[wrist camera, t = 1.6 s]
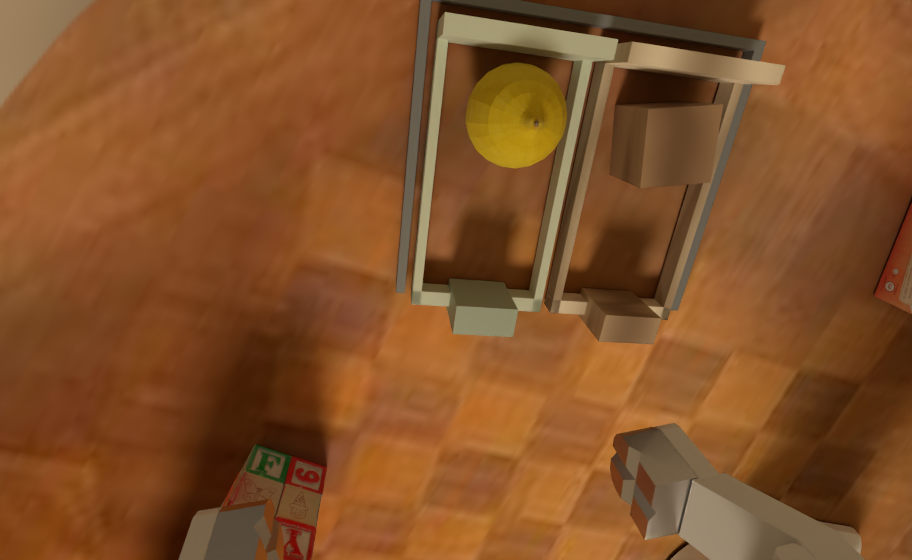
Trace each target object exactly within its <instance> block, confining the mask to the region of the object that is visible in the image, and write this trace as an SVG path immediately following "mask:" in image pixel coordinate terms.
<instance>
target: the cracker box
mask: <svg viewBox="0 0 912 560" xmlns="http://www.w3.org/2000/svg"><path fill="white" fill-rule="evenodd" d="M874 296H875V297H877V298H879V299H881V300H883V301H885V302H887V303H890V304H892V305H894V306H896V307H898V308H900V309H902V310H904V311H906V312H908V313H910V314H912V202H911V205H910V207H909V210H908V212H907V215H906V217H905V220H904V222H903V224H902V227H901V229H900V232H899V234H898V237H897V239H896V242H895V244H894V247H893V249H892V252H891V254H890V257H889V259H888V262H887V264H886V267H885V269H884V271H883V274H882V276H881V279H880V281H879V284H878V286H877V289H876V291H875V294H874Z"/></svg>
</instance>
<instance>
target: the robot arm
mask: <svg viewBox="0 0 912 560" xmlns="http://www.w3.org/2000/svg"><path fill="white" fill-rule="evenodd" d="M613 447H614V448H615V450H616V452H617V453H616V454H615V455H614V456H613V457H612V458H611V464H610V471H611V477H612V481H613V484H614V486H615V489H616V491H617V493H618V494H619V496H620V498H621V499H622V500H624V501H626V502H627V503H629V504H630V505H631V512H630V515H631V517H632V519H633V521H634V522H635V524H636V526H637V528H638V529H639V531H640V533H641V534H642V536H643V538H644V540H647V539H652V538H658V537H663V536H668V535H674V534H679V536H680V537H681V538H683V539H684V540H685V541H687V542H688V543H689V544H688V545H687V546H686V547H684V548H683V549H681V550H680V551H679V552H678V553H677V554H675V555H674V556H673V557H672V558H671V559H670V560H865V559H864V558H863V557H862V556H861V555H860V552H861V537H860V535H859V534H858V533H857V531H856V530H855V529H854V528H852V527H849V526H843V525H837V524H832V523H826V522H820V521H816V520H815V519H813V518H811V517H809V516H807V515H805V514H803V513H801V512H799V511H797V510H795V509H793V508H791V507H789V506H788V505H786V504H784V503H782V502H780V501H778V500H776V499H774V498H772V497H770V496H768V495H766V494H764V493H763V492H761V491H759V490H757V489H755V488H753V487H751V486H749V485H747V484H745V483H743V482H741V481H739V480H737V479H736V478H734V477H732V476H730V475H728V474H726V473H723V474H719V473H718V472H717V471H716V469H715V468H714V467H713V466H712V465H711V463H710V462H709V461H708V460H707V459H706V457H705V456H704V455H703V454H702V453H701V452H700V450H699V449H698V448H697V447H696V446H695V444H694V443H693V442H692V441H691V440H690V438H689V437H688V436H687V435H686V434H685V433H684V431H683V430H682V429H681V428H680V427H679V426H678V425H676V424H675V423H672V424H667V425H662V426H656V427H650V428H645V429H640V430H635V431H630V432H625V433H620V434H616V436H615V437H614V441H613ZM274 514H275V507H274V505H273V502H272V499H267V500H260V501H254V502H248V503H242V504H235V505H229V506H223V507H218V508H212V509H206V510H200V511H198V512H197V513H196V514H195V516H194V517H193V519H192V521H191V524H190V527H189V530H188V533H187V536H186V539H185V542H184V545H183V548H182V551H181V554H180V556H179V559H178V560H283V557H284V539H283V532H282V528H281V525H280V522H278V521H276V520H274Z"/></svg>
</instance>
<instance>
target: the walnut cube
mask: <svg viewBox="0 0 912 560" xmlns="http://www.w3.org/2000/svg"><path fill="white" fill-rule="evenodd" d="M722 109H723V104H713V103H701V102H689V101H670V102H654V103H637V104H621V105H615V112H614V125H613V138H612V152H611V165H610V175H612V176H614V177H616V178H619V179H621V180H623V181H625V182H628V183H630V184H632V185H634V186H636V187H639V188H649V187H662V186H674V185H687V184H699V183H711V178H712V171H713V165H714V159H715V153H716V146H717V140H718V134H719V128H720V121H721V115H722Z"/></svg>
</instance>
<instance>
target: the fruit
mask: <svg viewBox="0 0 912 560" xmlns="http://www.w3.org/2000/svg"><path fill="white" fill-rule="evenodd" d="M566 121H567V108H566V100H565V98H564V96H563V93H562V91H561V89H560V87H559V85H558V83H557V82H556V81H555V80H554V79H553V78H552V77H551V76H550V75H549V73H547V72H545V71H544V70H542V69H540V68H538V67H536V66H534V65H531V64H525V63H519V62H515V63H510V64H504V65H501V66H499V67H497V68H495V69H493V70H491V71H489V72H488V73H487V74H486V75H485V76H484V77H483V78H482V79H481V80H480V81H479V82H478V83H477V84H476V86H475V88H474V89H473V91H472V93H471V95H470V97H469V100H468V105H467V111H466V126H467V131H468V135H469V138H470V140H471V141H472V143H473V145H474V147H475V149H476V150H477V151H478V152H479V153H480V154H481V155H482V156H483V157H484V158H485V159H487V160H489V161H491V162H493V163H495V164H497V165H499V166H502V167H509V168H520V167H526V166H530V165H532V164H534V163H536V162H538V161H540V160H542V159H544V158H545V157H547V156H548V155H549V154H550V153H551V152H552V151H553V150H554V149H555V148H556V146H557V145H558V143H559V141H560V140H561V138H562V137H563V133H564V130H565V127H566Z"/></svg>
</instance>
